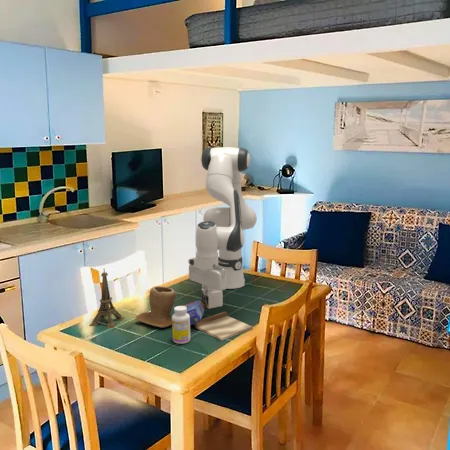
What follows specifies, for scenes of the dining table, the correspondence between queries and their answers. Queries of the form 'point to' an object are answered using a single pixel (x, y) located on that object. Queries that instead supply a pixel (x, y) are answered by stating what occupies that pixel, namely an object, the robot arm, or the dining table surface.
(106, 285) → the eiffel tower
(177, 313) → the supplement bottle
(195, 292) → the dining table surface
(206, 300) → the medicine bottle
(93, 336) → the dining table surface
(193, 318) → the ink cartridge box
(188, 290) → the dining table surface
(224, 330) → the oak board
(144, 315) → the brown boot planter
